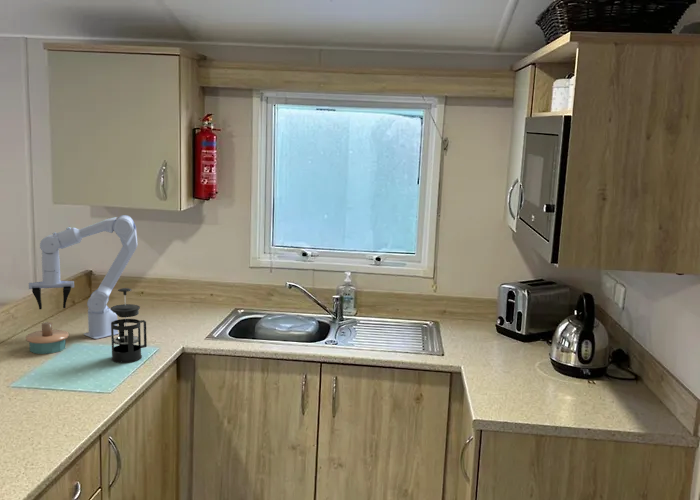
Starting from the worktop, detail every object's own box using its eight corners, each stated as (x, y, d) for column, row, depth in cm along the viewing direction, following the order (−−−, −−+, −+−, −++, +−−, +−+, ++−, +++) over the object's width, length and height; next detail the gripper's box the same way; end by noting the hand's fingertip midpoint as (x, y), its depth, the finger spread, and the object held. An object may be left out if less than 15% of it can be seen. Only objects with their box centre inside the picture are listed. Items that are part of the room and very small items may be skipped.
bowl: (55, 341, 240) (54, 330, 239) (71, 348, 233) (71, 337, 232) (24, 348, 231) (23, 337, 231) (39, 355, 225) (39, 344, 224)
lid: (70, 330, 239) (69, 317, 238) (66, 342, 227) (66, 327, 226) (28, 333, 235) (28, 319, 234) (23, 344, 223) (22, 330, 222)
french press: (114, 365, 218) (112, 293, 214) (105, 357, 225) (103, 287, 222) (151, 359, 225) (149, 289, 221) (141, 351, 232) (139, 283, 228)
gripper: (73, 267, 247) (75, 304, 250) (29, 268, 242) (30, 306, 245) (73, 271, 241) (74, 309, 243) (27, 272, 236) (29, 311, 238)
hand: (52, 308), depth 243 cm, fingers open, 7 cm apart
